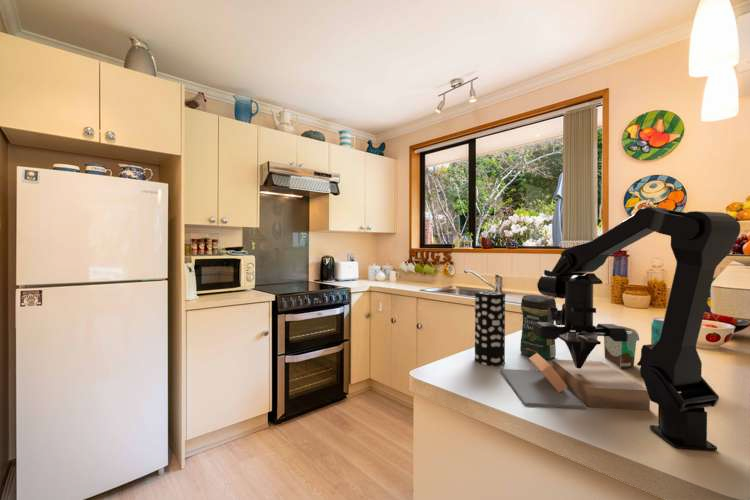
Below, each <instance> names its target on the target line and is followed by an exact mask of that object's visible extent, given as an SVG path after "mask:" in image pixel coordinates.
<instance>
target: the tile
mask: <svg viewBox="0 0 750 500" xmlns="http://www.w3.org/2000/svg"><path fill="white" fill-rule="evenodd" d="M528 359H529V360H530V362H531V363H532V364H533V365H534V367H535V368H536V369H537V370H538V371H539V372H540V373H541V374H542V376H543V377H544V378H545V379H546V380H547V381H548V382H549V383H550V384H551V385H552V386H553V387H554V388H555V389H556V390H557V392H558V393H560V392H561V391H563V390H564V389H568V388H567V387H568V386H567V385H566V384H565V383H564V381H563V380H562V379H561V378H560V376H559V375H558V374H557V372H556V371H555V370H554V369H553V367H552V365H551V364H550V363H549V362H548V361H547V359H543V358H542V357H541V356H540V355H539V354H538V353H536V354H534V355H533V356H529V357H528Z"/></svg>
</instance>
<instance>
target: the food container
mask: <svg viewBox="0 0 750 500" xmlns="http://www.w3.org/2000/svg"><path fill="white" fill-rule="evenodd" d="M618 326H619V327H622V328H624V329H625V330H626V331H627V333H628V341H627V342H622V341H613V340H612V339H611V338H610V337H609V336H603V342H604V343H603V344H604V345H603V346H604V347H603V348H604V349H603V350H604V359H606V360H607V361H608V362H609V363H612V364H613V365H614V366H615V367H616V368H618V369H619V370H631V369H633V368H634V366H635V356H636V349H637V342H639V341H640V337H639V333H638V330H636V329H633V328H630V327H626V326H623V325H622V326H621V325H618Z"/></svg>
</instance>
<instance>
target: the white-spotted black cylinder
mask: <svg viewBox="0 0 750 500" xmlns="http://www.w3.org/2000/svg"><path fill="white" fill-rule="evenodd" d="M505 348H506V293H505V292H501V291H493V290H492V291H489V290H479V291H478V290H477V291H475V292H474V361H475V362H476V363H478V364H480V365H483V366H489V367H499V366H503V365H504V364H505V363H506V361H505V360H506V359H505V358H506V357H505V355H506V351H505V350H506V349H505Z"/></svg>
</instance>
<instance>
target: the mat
mask: <svg viewBox="0 0 750 500" xmlns="http://www.w3.org/2000/svg"><path fill="white" fill-rule="evenodd" d="M499 371H500V373H501V375H502V376H503V377H504V378H505V380H506V382H507V383H508V384H509V386H510V387H511V388H512V390H513V391H514V393H515V394H516V395H517V397H518V398H519V400H520V401H521V402H522V404H523V405H524V406H525V407H545V408H561V409H562V408H565V409H566V408H567V409H581V410H582V409H583V410H585V409H586V405H585V404H584V403H583V402H582V401H581V400H580V399H579V398H578V397H577V396H576V395H574V394H573V393H572V392H571V391H570V390H569V389H568V388H566V389H564V390H563V391H561V392H560V393H558V392H557V390H556V389H555V388H554V387H553V386H552V385H551V384H550V383H549V382H548V381H547V380H546V379H545V378H544V377H543V376H542V374H541V373H540V372H539V371H538V369H537V370H536V369H512V368H511V369H510V368H509V369H508V368H500V369H499Z"/></svg>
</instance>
